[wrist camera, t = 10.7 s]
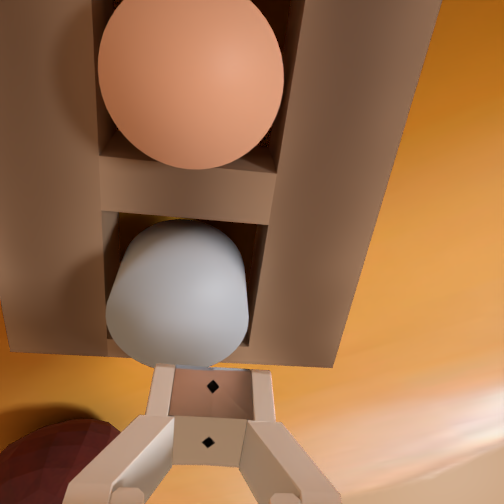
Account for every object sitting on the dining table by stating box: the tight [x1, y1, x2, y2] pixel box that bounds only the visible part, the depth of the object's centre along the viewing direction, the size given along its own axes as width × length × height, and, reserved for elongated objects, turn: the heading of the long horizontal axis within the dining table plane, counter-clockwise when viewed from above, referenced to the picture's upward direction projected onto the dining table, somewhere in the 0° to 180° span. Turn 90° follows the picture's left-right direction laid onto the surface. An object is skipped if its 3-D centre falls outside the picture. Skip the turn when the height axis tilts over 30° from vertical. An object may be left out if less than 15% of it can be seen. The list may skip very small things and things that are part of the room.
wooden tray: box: [0, 0, 442, 368], centre depth 15 cm, size 14×24×3 cm, turn 173°
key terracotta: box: [98, 0, 284, 170], centre depth 13 cm, size 5×5×3 cm
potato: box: [0, 419, 121, 504], centre depth 24 cm, size 7×10×6 cm
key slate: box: [106, 219, 249, 368], centre depth 17 cm, size 5×5×3 cm
